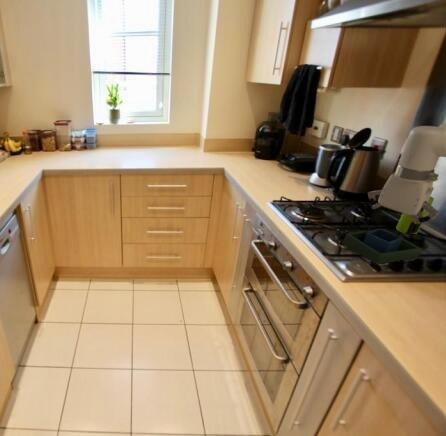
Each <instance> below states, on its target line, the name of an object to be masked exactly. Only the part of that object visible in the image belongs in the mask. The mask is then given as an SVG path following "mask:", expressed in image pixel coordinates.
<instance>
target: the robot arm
mask: <svg viewBox="0 0 446 436" xmlns="http://www.w3.org/2000/svg"><path fill="white" fill-rule="evenodd" d="M401 152H402V153H401V155H400V158H399V159H398V163H397V166H396V168H395V171H394V172H393V173H391V175H390V176H389V177H388V179H387V181H386V182H385V184H384V186H383V187H382V189H381V190H380V189H379V190H373V191H372V190H371V191H369V192H367V196H368V203H370V205H371V210H372V211H371V213H370V219H369V221H370V222H375V221H376V222H377V221H378V220H379V219H380V216H381V213H382V211H383V208H382V207H384V208H387V209H390V210H392V211H395V212H399V213H401V214H402V213H404V214H408V215H411V217H412V219H413V222H412V223H411V224H410V226H409V228H408V230H407V233H406V234H405V235H407V236H412V235H411V234H413V233H416V232H417V231H418V229H419V227H420V225H421V223H422V224H423V223H425V222H429V221H431V220H433V219H435V218H436V217H437V216H439V215H440V211H439V210H437V209H436V208H435V207H434V206H433V205H430V204H428V202H429V198H430V196H431V195H432V193H431V191H432V187H434V186H433V185H434V181H433V180H430V179H437V178H438V179H439V174H438V173H436V169H435V168H436V166H437V163H438V161H439V160H440V158H446V121H444V122H443V123H441V124H440V125H439V126H434V125H419V126H415V127H413V128H412V129H411V130H410V131H409V134H408V136H407V139H406V142H405V144H404V147H403V150H402V151H401ZM432 192H433V191H432ZM376 196H378V199H377V197H376ZM425 210H426V211H427V212H428V213H427V215H426V217H423V215H422V213H421V212H424V211H425ZM421 226H422V225H421ZM420 228H421V227H420ZM419 230H420V229H419ZM418 232H419V231H418Z"/></svg>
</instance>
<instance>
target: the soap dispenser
mask: <svg viewBox="0 0 446 436" xmlns="http://www.w3.org/2000/svg"><path fill="white" fill-rule="evenodd" d="M430 180H433V182H437V181H438V180H439V177H438V178H437V179H430ZM434 189H435V188H434V186H432V191H431V194H432V193H433V191H434ZM434 201H435V198H434V197H433V196H431V195H430V198H429V202H428V204H430V205H431V206H433V203H434ZM421 213H422V215H423V217H426V216H427V215H428V214H429V213H428V212H427V211H426V210H425V211H424V212H421ZM412 222H413V219H412V217H411V215H408V214H404V213H401V216H400V217H399V220H398V222H397V224H396V227H395V229H396V230H397V232H399V233H402V234H405V235H407V234H406V233H407V230H408V228H409V226H410V224H411V223H412ZM422 225H423V223H421V225H420V227H419V229H418V231H417V232H416V233H413V234H416V235H418V233H419V231H420V229H421V227H422Z"/></svg>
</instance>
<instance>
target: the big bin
mask: <svg viewBox="0 0 446 436" xmlns="http://www.w3.org/2000/svg"><path fill="white" fill-rule="evenodd" d="M381 229H382V230H385V231H387V232H390V233H392V234H394V233H393V232H391V231H390V230H388V229H386V228H381ZM374 230H375V229H372V230H364V231H356V232H348V233H345V236H344V238H343V241H342V244H343V243H344V244H345V245H346V247H347V248H348V249H350V250H351V251H353V252H355V253H357V254H360V255H362V256H363V257H365V258H367V259H368V260H371V261H374V262H375V263H378V264H385V263H389V262H395V261H400V260H411V259H417V260H418V259H419V257H420V255H421V253H422V251H423V248H422V247H419V246H418V245H416V244H414V243H412V242H410V241H408V240H407V239H404V238H403V239H402V241H401V243H400V245H399V247H398V249H397V251H395V252H388V253H381V254H380V253H379V252H377V251H376V250H374V249H372V248H371V247H369V246H368V245H366V244H364V243H363V241H364V239H365V236H366V234H367V233H369V232H371V231H374ZM347 248H346V249H347ZM348 249H347V250H348ZM350 250H349V251H350ZM351 251H350V252H351ZM353 252H352V253H353Z"/></svg>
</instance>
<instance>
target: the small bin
mask: <svg viewBox="0 0 446 436" xmlns="http://www.w3.org/2000/svg"><path fill="white" fill-rule="evenodd" d="M382 229H383V228H377V229H373V230H374V231H371V230H370V231H371V232H369V233H367V234H366V236H365V239H364V241H363V243H364V244H366V245H368V246H369V247H371V248H372V249H374V250H376V251H377V252H379V253H380V254H381V253H388V252H395V251H397V249H398V247H399V245H400V243H401V241H402V239H404V237H402V236H399V235H397V234H396V233H393V232H391V231H390V232H391V233H390V232H387V231H385V230H382ZM392 233H393V234H392Z"/></svg>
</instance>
